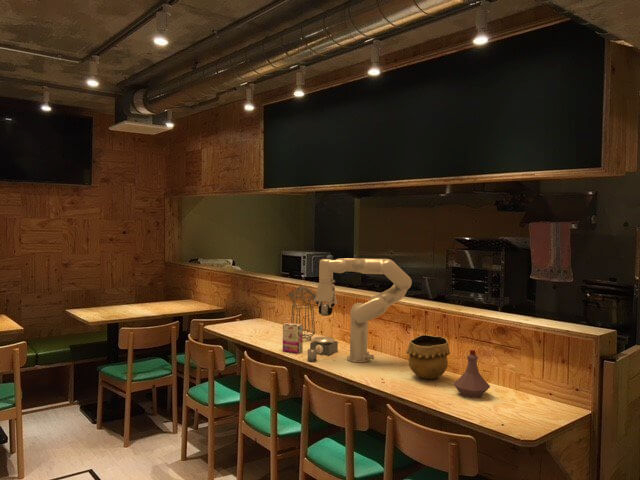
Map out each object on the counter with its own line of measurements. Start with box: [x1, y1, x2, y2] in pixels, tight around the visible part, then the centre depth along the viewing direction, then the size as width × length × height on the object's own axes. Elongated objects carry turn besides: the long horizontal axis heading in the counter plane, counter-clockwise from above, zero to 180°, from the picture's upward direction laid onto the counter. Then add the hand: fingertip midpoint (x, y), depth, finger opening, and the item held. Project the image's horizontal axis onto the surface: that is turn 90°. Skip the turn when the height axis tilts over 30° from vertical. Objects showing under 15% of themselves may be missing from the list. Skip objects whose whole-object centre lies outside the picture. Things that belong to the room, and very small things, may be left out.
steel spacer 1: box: [307, 348, 318, 363], centre depth 290 cm, size 5×5×6 cm
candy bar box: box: [282, 322, 304, 355], centre depth 308 cm, size 11×5×16 cm, turn 62°
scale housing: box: [309, 340, 339, 357], centre depth 309 cm, size 12×12×6 cm
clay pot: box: [405, 334, 451, 380], centre depth 262 cm, size 21×21×20 cm
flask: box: [453, 349, 491, 399], centre depth 238 cm, size 16×16×20 cm
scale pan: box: [313, 336, 335, 343], centre depth 309 cm, size 12×12×1 cm
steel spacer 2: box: [320, 303, 330, 317], centre depth 293 cm, size 5×5×6 cm
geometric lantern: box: [287, 285, 316, 342], centre depth 338 cm, size 16×16×35 cm
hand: (325, 313), depth 293 cm, fingers closed on steel spacer 2, 5 cm apart
